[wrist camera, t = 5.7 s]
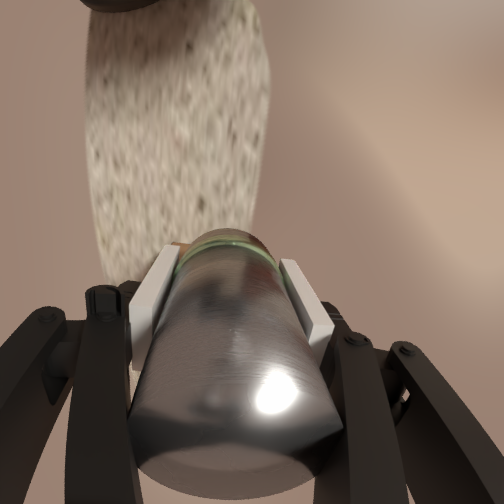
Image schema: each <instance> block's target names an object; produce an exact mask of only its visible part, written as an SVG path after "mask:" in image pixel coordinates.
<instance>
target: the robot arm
mask: <svg viewBox="0 0 504 504" xmlns="http://www.w3.org/2000/svg"><path fill="white" fill-rule="evenodd" d="M80 1H81V2H83V3H84V4H85V5H86V6H87V7H89V8H91V9H93V10H97V11H101V12H124V11H129V10H134V9H138V8H141V7H144V6H147V5H150V4H152V3H154V2H157V1H159V0H80ZM179 254H180V246H176V245H168V244H166V245H165V246H164V248H163V249H162V251H161V252H160V254H159V256H158V257H157V259H156V260H155V262H154V264H153V265H152V267H151V268H150V270H149V272H148V273H147V275H146V276H145V278H144V280H143V281H142V282H137V281H130V280H128V281H126V282H124V283H122V284H120V285H119V287H116V286H112V285H98V286H94V287H92V288H90V289H88V290H87V291H86V292H85V298H86V309H87V318H86V320H66V318H65V313H64V311H62V310H61V309H59V308H57V307H51V306H47V307H46V306H45V307H42V308H39V309H36V310H35V311H34V312H32V313H31V314H30V315H29V316H28V317H27V319H25V321H24V322H23V323H22V324H21V325H20V326H19V327H18V328H17V329H16V330H15V331H14V333H13V334H12V335H11V336H10V337H9V338H8V339H7V340H6V341H5V342H4V344H3V345H2V346H1V347H0V504H23V502H24V500H25V497H26V493H27V491H28V488H29V485H30V483H31V480H32V477H33V474H34V472H35V469H36V467H37V464H38V462H39V459H40V457H41V454H42V452H43V449H44V447H45V445H46V442H47V440H48V438H49V435H50V433H51V431H52V429H53V426H54V424H55V422H56V420H57V418H58V415H59V413H60V411H61V409H62V407H63V405H64V403H65V401H66V399H67V397H68V394H69V393H70V390H71V388H72V386H73V389H72V397H71V403H70V412H69V421H68V431H67V442H66V456H65V457H66V458H65V504H143V498H142V493H141V487H140V481H139V475H138V467H137V465H136V461H135V456H134V452H133V448H132V443H131V438H130V433H129V428H128V423H127V417H128V412H129V409H130V406H131V397H130V376H129V365H130V362H131V359H132V369H133V370H136V371H142V368H143V365H144V362H145V359H146V356H147V353H148V350H149V347H150V344H151V341H152V338H153V335H154V333H155V330H156V327H157V324H158V321H159V319H160V316H161V313H162V310H163V308H164V305H165V302H166V299H167V297H168V294H169V291H170V286H171V280H172V277H173V275H174V272H175V270H176V267H177V265H178V263H179ZM279 270H280V272H281V274H282V276H283V279H284V282H285V288H286V291H287V294H288V296H289V298H290V301H291V303H292V305H293V308H294V310H295V312H296V315H297V317H298V319H299V322H300V324H301V326H302V329H303V331H304V333H305V336H306V338H307V340H308V343H309V345H310V347H311V350H312V352H313V354H314V357H315V359H316V362H317V364H318V366H319V369H320V371H321V373H322V376H323V378H324V381H325V383H326V385H327V388H328V390H329V393H330V395H331V397H332V400H333V402H334V405H335V407H336V410H337V412H338V414H339V417H340V419H341V422H342V424H343V429H344V432H343V434H342V436H341V437H340V439H339V441H338V443H337V444H336V446H335V448H334V449H333V451H332V453H331V454H330V456H329V457H328V459H327V461H326V462H325V464H324V465H323V467H322V469H321V470H320V472H319V473H318V475H317V476H315V486H314V500H313V501H314V502H313V504H409V498H408V493H407V486H408V488H409V490H410V493H411V495H412V497H413V499H414V501H415V504H504V456H503V455H502V454H501V452H500V451H499V449H498V448H497V447H496V445H495V444H494V442H493V441H492V440H491V438H490V437H489V436H488V434H487V433H486V431H485V430H484V429H483V428H482V426H481V425H480V423H479V422H478V421H477V419H476V418H475V417H474V415H473V414H472V413H471V412H470V410H469V409H468V408H467V406H466V405H465V404H464V403H463V401H462V400H461V399H460V398H459V396H458V395H457V394H456V392H455V391H454V390H453V388H452V387H451V386H450V385H449V384H448V382H447V381H446V380H445V379H444V377H443V376H442V375H441V374H440V373H439V371H438V370H437V369H436V368H435V366H434V365H433V364H432V363H431V362H430V360H429V359H428V358H427V357H426V356H425V355H424V353H423V352H422V351H421V350H420V349H419V348H418V347H417V346H415V345H413V344H412V343H410V342H409V343H408V342H405V341H397V342H394V343H393V344H392V346H391V348H390V351H385V350H380V349H375V348H373V345H372V342H371V341H370V339H368V338H367V337H366V336H364V335H362V334H360V333H357V332H353V331H352V330H351V329H350V328H349V326H348V325H347V323H346V322H345V320H343V317H342V316H341V315H340V313H339V311H338V310H337V308H336V307H334V306H333V305H332V304H330V303H329V302H321V301H319V299H318V298H317V296H316V294H315V292H314V291H313V290H312V288H311V286H310V284H309V283H308V281H307V280H306V278H305V276H304V275H303V273H302V272H301V270H300V268H299V267H298V265H297V264H296V262H295V261H294V260H289V259H280V263H279ZM406 389H407V390H408V391H409V393H410V395H409V397H408V399H407V400H406V401H405V400H404V399H403V397H402V396H403V394H404V393H405V390H406ZM406 484H407V486H406Z"/></svg>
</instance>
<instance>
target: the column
mask: <svg viewBox="0 0 504 504" xmlns="http://www.w3.org/2000/svg"><path fill="white" fill-rule="evenodd" d="M127 423H128V428H129V433H130V438H131V443H132V448H133V452H134V456H135V461H136V465H137V467H138V468H139V469H140V470H141V471H142V472H143V473H144V474H146V475H147V476H148V477H150V478H151V479H153V480H155V481H157V482H158V483H160V484H162V485H164V486H166V487H168V488H171V489H173V490H176V491H179V492H182V493H185V494H189V495H193V496H198V497H203V498H210V499H221V500H241V499H253V498H260V497H265V496H270V495H274V494H278V493H281V492H284V491H287V490H290V489H292V488H295V487H297V486H299V485H302V484H303V483H305V482H307V481H309V480H311V479H312V478H314V477H315V476H317V475H318V473H319V472H320V470H321V469H322V467H323V465H324V464H325V462H326V461H327V459H328V457H329V456H330V454H331V453H332V451H333V449H334V448H335V446H336V444H337V443H338V441H339V439H340V437H341V436H342V434H343V432H344V429H343V424H342V422H341V419H340V417H339V414H338V412H337V410H336V407H335V405H334V402H333V400H332V397H331V395H330V393H329V390H328V388H327V385H326V383H325V381H324V378H323V376H322V373H321V371H320V369H319V366H318V364H317V362H316V359H315V357H314V354H313V352H312V350H311V347H310V345H309V343H308V340H307V338H306V336H305V333H304V331H303V329H302V326H301V324H300V322H299V319H298V317H297V315H296V312H295V310H294V308H293V305H292V303H291V301H290V298H289V296H288V294H287V291H286V288H285V282H284V279H283V276H282V274H281V272H280V270H279V268H278V266H277V263H276V261H275V260H274V258H273V257H272V255H271V254H270V253H269V251H268V249H267V248H266V247H265V246H264V244H263V243H262V242H261V241H260V240H259V239H257V238H256V237H254V236H253V235H251V234H249V233H247V232H245V231H242V230H238V229H230V228H224V229H217V230H213V231H210V232H207V233H205V234H203V235H201V236H200V237H198V238H197V239H196V240H195V241H194V242H192V244H191V245H190V246H189V247H188V249H187V250H186V252H185V254H184V255H183V256H182V258H181V260H180V261H179V263H178V265H177V267H176V270H175V272H174V275H173V277H172V280H171V286H170V291H169V294H168V297H167V299H166V302H165V305H164V308H163V310H162V313H161V316H160V319H159V321H158V324H157V327H156V330H155V333H154V335H153V338H152V341H151V344H150V347H149V350H148V353H147V356H146V359H145V362H144V365H143V368H142V371H141V374H140V377H139V380H138V383H137V386H136V390H135V393H134V396H133V400H132V403H131V406H130V409H129V412H128V417H127Z"/></svg>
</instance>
